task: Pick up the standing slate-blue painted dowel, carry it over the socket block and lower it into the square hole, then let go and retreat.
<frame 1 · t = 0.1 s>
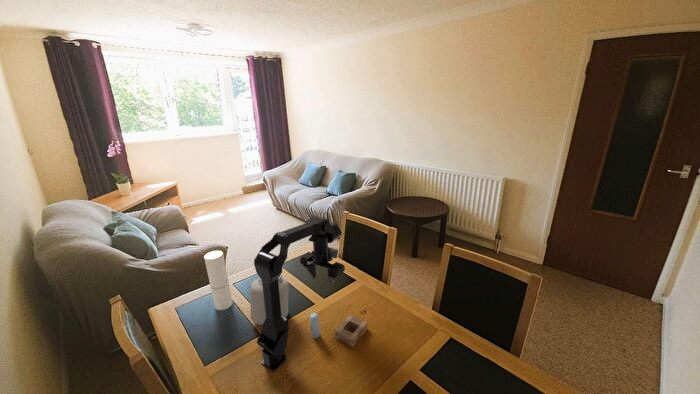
hand: (323, 282, 114), 15 cm above the table, fingers open, 9 cm apart
cylindrical container: (224, 304, 125), on the table
socket block: (351, 333, 107), on the table
jar: (273, 315, 118), on the table
dowel: (315, 335, 107), on the table
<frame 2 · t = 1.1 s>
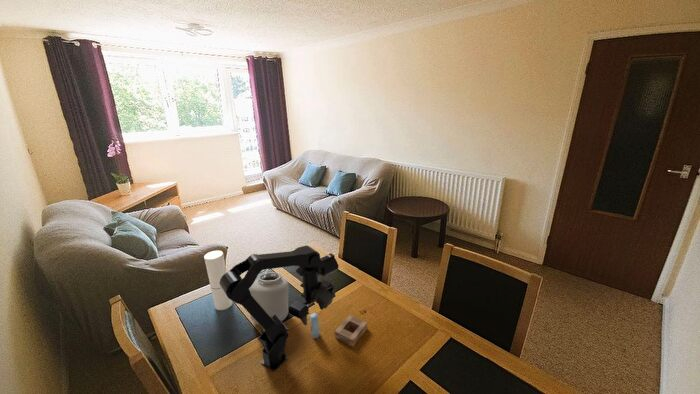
hand: (313, 316, 104), 9 cm above the table, fingers open, 9 cm apart
nothing on the table moved.
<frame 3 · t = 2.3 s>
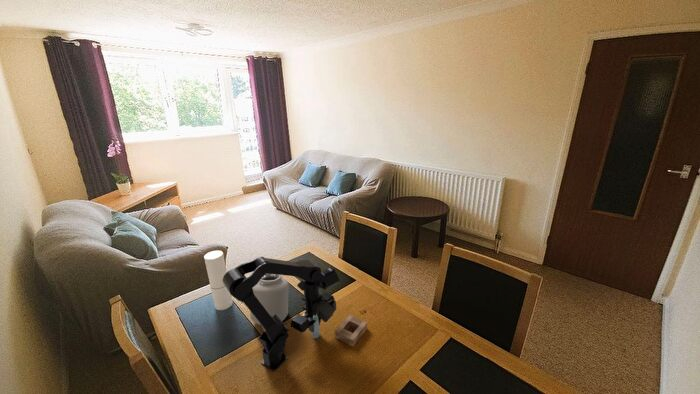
hand: (315, 328, 106), 3 cm above the table, fingers closed on dowel, 3 cm apart
dowel: (315, 335, 107), on the table, touching gripper
everything else where it was.
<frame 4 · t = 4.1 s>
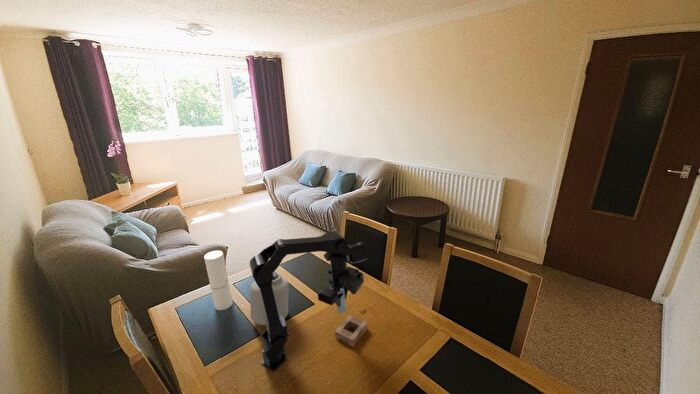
hand: (341, 303, 103), 14 cm above the table, fingers closed on dowel, 3 cm apart
dowel: (341, 310, 104), point 11 cm above the table, touching gripper
everything else where it was.
when the fingers open (4 cm above the table, at t = 6.1 s): dowel stays where it is, resting in socket block.
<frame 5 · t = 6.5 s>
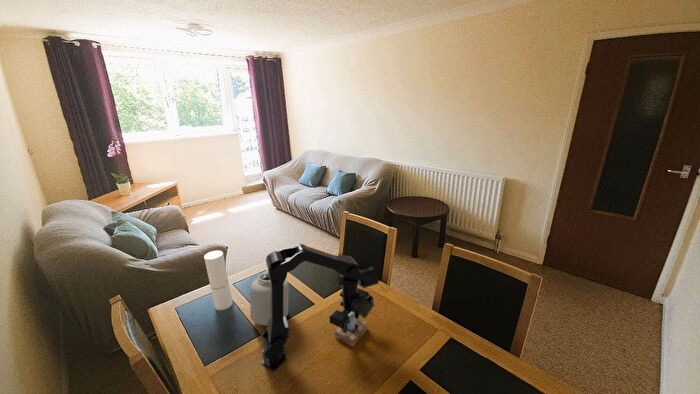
hand: (351, 325, 106), 4 cm above the table, fingers open, 8 cm apart
dowel: (351, 333, 107), resting in socket block
everything else where it was.
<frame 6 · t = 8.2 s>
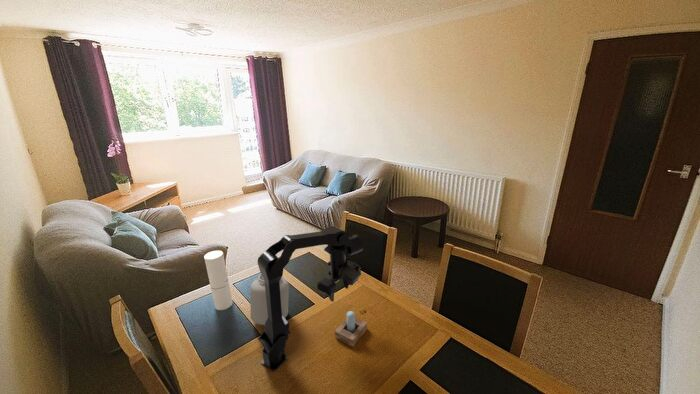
hand: (339, 294, 109), 13 cm above the table, fingers open, 9 cm apart
nothing on the table moved.
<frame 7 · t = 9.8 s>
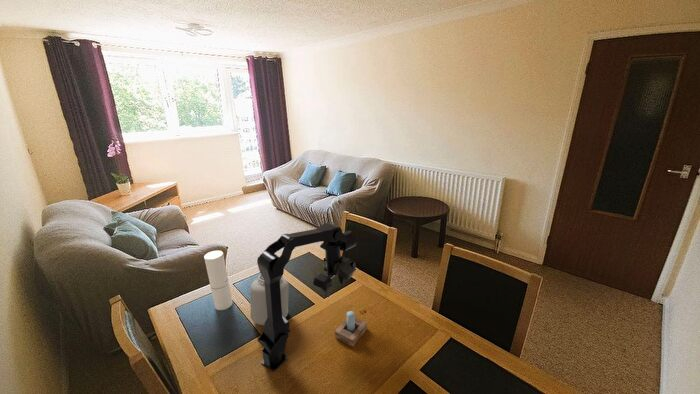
hand: (335, 290, 112), 13 cm above the table, fingers open, 9 cm apart
nothing on the table moved.
at the end: dowel 0.1 cm off-centre on the socket block, point 0.0 cm above the socket block's base; dowel tilted 0°; the gripper is holding nothing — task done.
